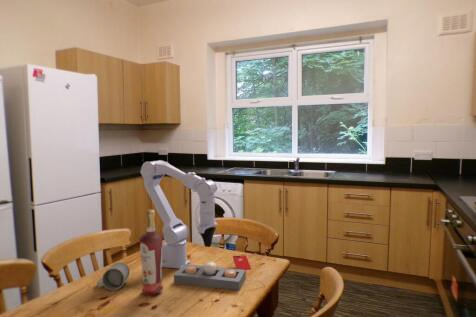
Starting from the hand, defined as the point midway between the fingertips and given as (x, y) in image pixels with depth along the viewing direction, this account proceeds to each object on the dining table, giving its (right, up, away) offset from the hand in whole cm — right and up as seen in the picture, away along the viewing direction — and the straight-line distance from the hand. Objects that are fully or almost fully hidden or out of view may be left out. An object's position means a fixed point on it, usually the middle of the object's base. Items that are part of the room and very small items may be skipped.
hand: (207, 246), depth 128 cm
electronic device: (+13, -9, +8) cm, 18 cm away
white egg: (+2, -7, -9) cm, 12 cm away
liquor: (-17, -11, -18) cm, 27 cm away
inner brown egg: (-6, -9, -7) cm, 13 cm away
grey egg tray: (+2, -10, -9) cm, 14 cm away
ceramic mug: (-32, -11, -12) cm, 36 cm away
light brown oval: (+9, -9, -11) cm, 17 cm away
